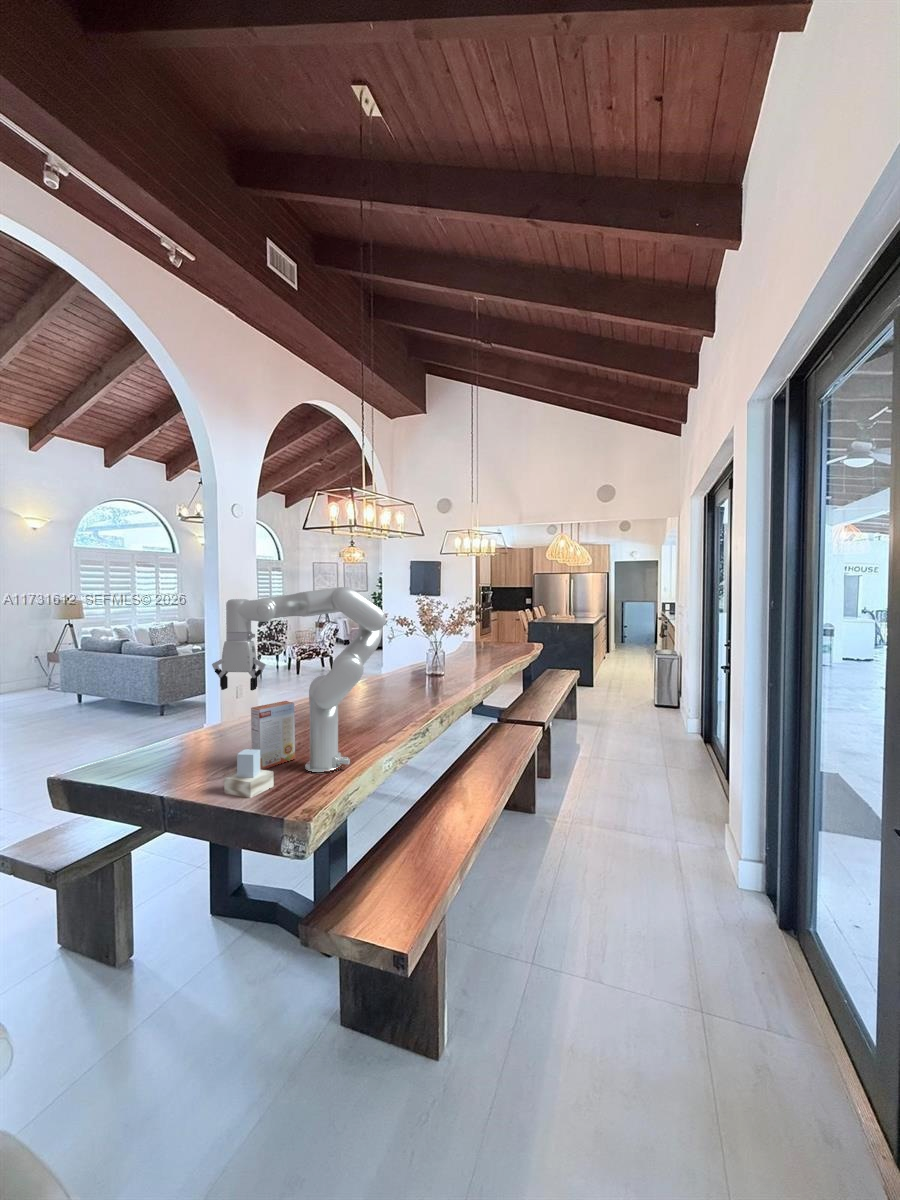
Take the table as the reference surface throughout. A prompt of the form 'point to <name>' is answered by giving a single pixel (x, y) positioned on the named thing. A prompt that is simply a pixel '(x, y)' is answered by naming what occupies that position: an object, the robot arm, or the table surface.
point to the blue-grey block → (248, 763)
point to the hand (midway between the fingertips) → (238, 689)
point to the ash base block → (249, 784)
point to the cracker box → (273, 733)
